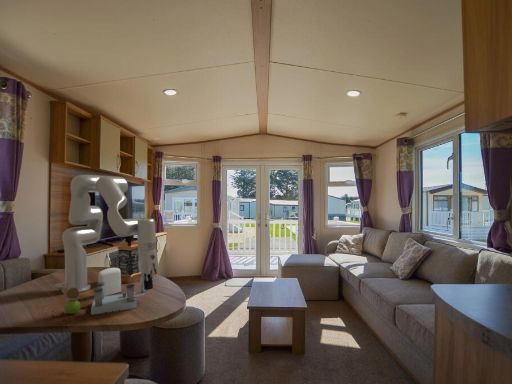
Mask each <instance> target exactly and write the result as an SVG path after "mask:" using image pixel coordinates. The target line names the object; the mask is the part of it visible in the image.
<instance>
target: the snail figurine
mask: <svg viewBox="0 0 512 384" xmlns="http://www.w3.org/2000/svg"><path fill="white" fill-rule="evenodd" d="M63 285H65V284H63ZM63 285H62V286H63ZM62 289H63V292H64V293H63V295H64V297H65V299H66V300H68V301H67V302H66V303H65V306H64V310H65V312H66V313H67V314H68V315H69V314H70V315H73V314H76V313H78V312H79V311H80V309H81V303H80V301H79V300H78V299H80V297H79V294H80V292H79V291H78V289H77V288H70V289H69V290H68V292H67V291H66V289H67V288H66V287H63V288H62Z"/></svg>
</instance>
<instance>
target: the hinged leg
mask: <svg viewBox="0 0 512 384" xmlns="http://www.w3.org/2000/svg"><path fill="white" fill-rule="evenodd" d="M139 282H140V284H139V285H140V291H138V292H136V293H134V297H137V298H138V297H142V296H145V295H146V294H147V292H148V290H145V289H144V279H143V275H142V276H140V280H139Z"/></svg>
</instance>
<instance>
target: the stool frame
mask: <svg viewBox="0 0 512 384" xmlns="http://www.w3.org/2000/svg"><path fill="white" fill-rule="evenodd" d="M95 286H96V288H95V289H94V290H93V292H94V298H93V301H92V304H91V306H90V307H91V308H90V315H91V316H92V315H99V314H105V312H107V313H111V312H112V311H113V312H119V310H120V311H127V310H132V309H137V308H138V297H134V293H137V291H134V290H135V289H134V288H135V284H132V283H128V284H127V285H125V288H126V290H125V291H122V293H118V294H112V295H108V296H104V282H100V283H98V282H97V283H96V284H95ZM113 312H112V313H113Z"/></svg>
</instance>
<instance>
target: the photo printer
mask: <svg viewBox="0 0 512 384" xmlns="http://www.w3.org/2000/svg"><path fill="white" fill-rule="evenodd" d="M97 278H98V279H97V283H100V282H104V296H111V295H116V294H120V293H121V292H122V282H121V271H120V269H119V268H118V267H110V268H105V269H103V270H101V271H99V272H98V273H97Z"/></svg>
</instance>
